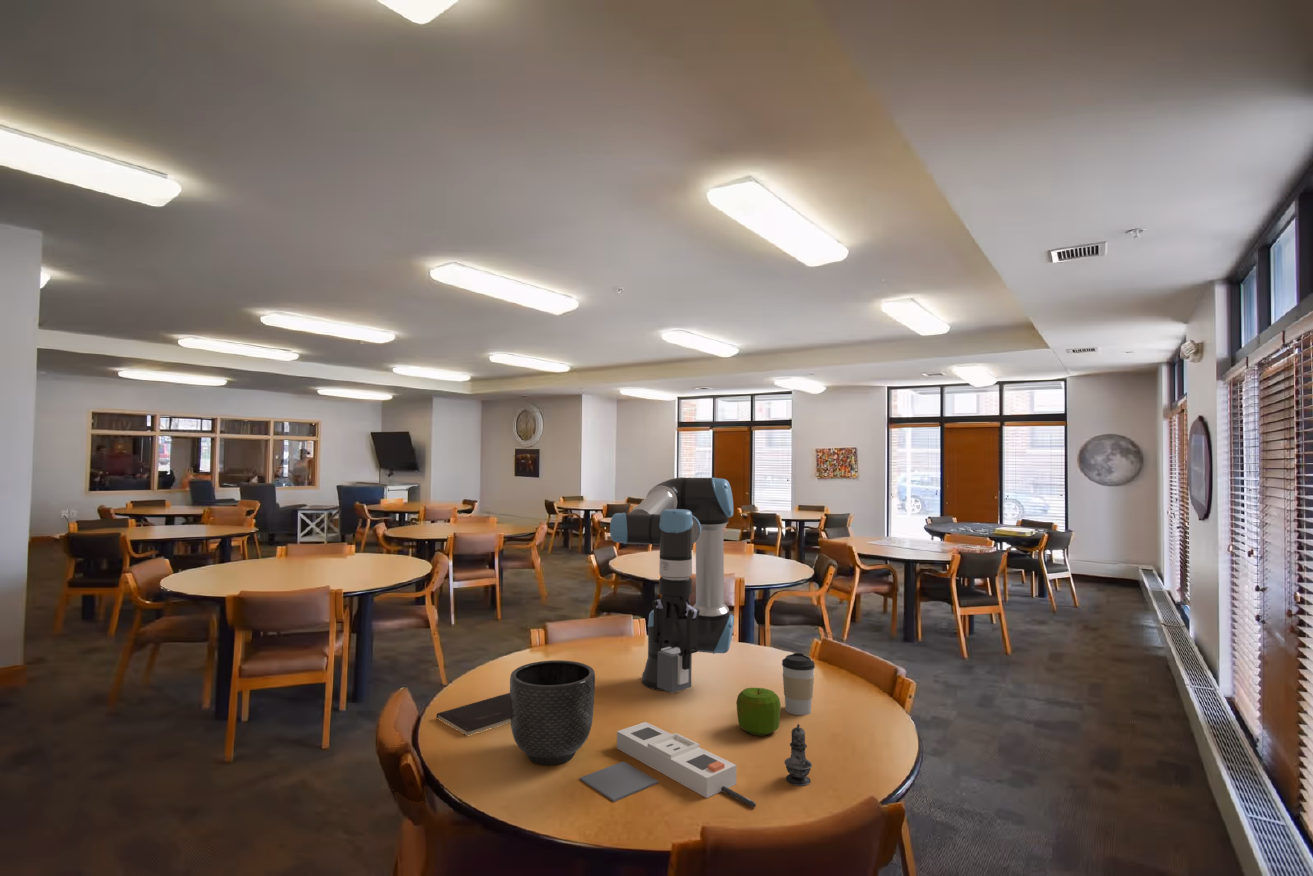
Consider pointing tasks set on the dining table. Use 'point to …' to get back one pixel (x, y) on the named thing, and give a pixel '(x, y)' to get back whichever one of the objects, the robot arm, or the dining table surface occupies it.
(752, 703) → the apple
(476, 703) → the hardcover book
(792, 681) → the coffee cup
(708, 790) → the strip
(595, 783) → the mat
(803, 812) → the dining table surface
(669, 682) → the charger
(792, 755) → the grey chess piece
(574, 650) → the dining table surface
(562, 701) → the planter
